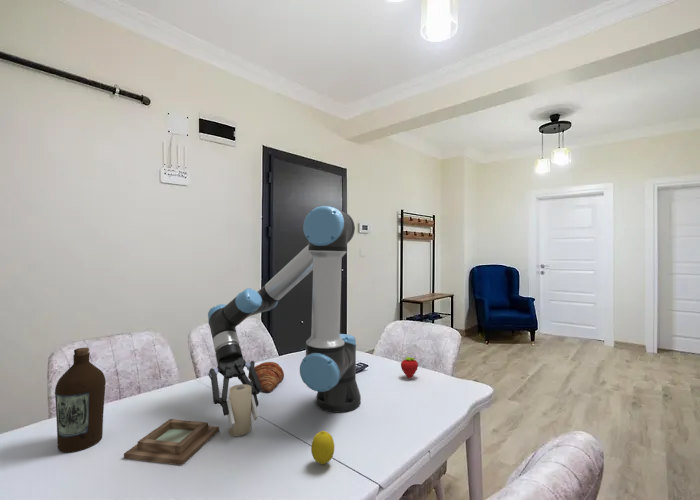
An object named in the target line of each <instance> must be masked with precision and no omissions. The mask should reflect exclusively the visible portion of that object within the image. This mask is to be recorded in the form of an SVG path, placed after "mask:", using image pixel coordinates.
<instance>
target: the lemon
mask: <svg viewBox="0 0 700 500" xmlns="http://www.w3.org/2000/svg"><path fill="white" fill-rule="evenodd" d="M310 449H311V455H312V458H313V460H315V462H316V463H318V464H320V465H326V464H327V463H329V462H330V461H331V460H332V459H333V457H334V453H335V442H334V438H333V436H332V435H331V433H329V432H327V431H325V430H321V431H318V432H317V433H316V434H314V437H313V439H312V440H311V448H310Z"/></svg>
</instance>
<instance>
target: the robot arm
mask: <svg viewBox="0 0 700 500" xmlns="http://www.w3.org/2000/svg"><path fill="white" fill-rule="evenodd" d="M302 229H303V234H304V236H305V238H306V239H307V241H308V245H306V246H305V247H304V248H302V250H301V251H299V253H297V254H296V255H295V256H294V257H293V258H292V259H291V260H290V261H289V262H288V263H287V264H286V265H285V266H283V268H281V270H279V271H278V272H277V273H276V274H275V275H274V276H273V277H272V278H271V279H270V280H269V281H267V282H266V283H265V285H264V286H262V287H261V288H259V290H258V291H256V290H255V289H252V288H245V289H244V290H242V291H241V292H239V293H238V294H237V295H236V296H235V297H234V298H233V299H232V300H231V301H229V302H228V303H227V304H224V303H223V304H217V305H216V306H213V307H211V308H210V309H209V310H208V312H207V319H208V321H207V323H208V326H209V330H210V333H211V338H212V343H213V348H214V352H215V358H216V363H217V367H215V368H210V369H209V371H208V373H207V374H208V378H209V379H210V382H211V391H212V400H213V404H214V405H219V406H221V408H222V413H223V414H222V415H223V416H227V420H228V426H230V428H232V427H233V426H234V424H235V421H234V416H233V412H232V407H231V402H230V400H229V399H228V394H229V383H230V379H232V378H237V379H238V380H239V381H240V382H241V384H247V385H250V386H251V417H252V419H253V422H256V421H257V420H258V419H259V417H260V416H259V411H258V407H259V406H260V405H259V403H260V402H259V399H258V395H259V394H260V392H262V391H261V389H262V388H261V385H260V382H259V379H258V376H257V373H256V371H255V368H254V367H255V366H256V365H255V363H256V362H255V361H254V360H251V361H246V360H245V359H244V355H243V353H242V349H241V345H240V341H239V337H238V333H237V329H236V328H237V326H239V325H240V324H241V323H243V322H244V321H245V320H246V319H248V318H249V317H252V316H255V315H258V314H261V313H265V312H269V311H272V309H274V308H275V307H277V305H278V303H279V301H280V300H281V299H282V298H283V297H284V296H286V294H288V293H289V292H290V291H291V290H292V289H294V287H295V286H296V285H298V284H299V283H300V282H301V281H302V280H303V279H304V278H306V277H307V276H308V275H309V274H310V273H311V272H312V293H311V294H312V295H311V297H312V299H311V330H310V331H311V335H310V336H309V338H308V339H307V340H306V342H305V356H304V358H302V360H301V362H300V364H299V375H300V378H301V380H302V382H303V383H304V384H305V385H306V387H308V388H309V389H311V390H312V391H315V392H316V395H315V404H316V406H317V407H318V408H319V409H320V410H323V411H326V412H331V413H346V412H350V411H353V410H355V409H358V407H360V405H361V402H362V398H361V392H360V390H359V386H358V383H357V378H356V377H357V375H356V371H357V369H356V368H357V367H356V364H357V361H356V359H357V355H356V353H357V343H356V340H357V339H356V337H355V336H354V335H352V334H347V333H346V334H345V333H341V302H342V301H341V299H342V296H341V295H342V265H343V264H342V260H343V259H342V258H343V257H344V256H345V255H346V254H347V251H348V243H350V241H351V240H352V239H353V237H354V236H355V229H356V227H355V222H354V219H353V217H351V215H350V214H349V213H347V212H346V211H343V210H340V209H337V208H336V207H334V206H329V205H322V206H317V207H315V208H313V209H312V210H310V212H308V214H306V217H305V218H304V221H303V227H302ZM245 368H246V370H247V371H248V374H250V377H251V380H252V382H251V380H250V379H249V378H248V376H247V375H246V372H245V370H244V369H245ZM218 373H219V374H221V375H222V376H223V381H222V390H221V391H222V392H221V396H220V388H219V381H218ZM227 399H228V400H227Z"/></svg>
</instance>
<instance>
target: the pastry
mask: <svg viewBox="0 0 700 500" xmlns="http://www.w3.org/2000/svg"><path fill="white" fill-rule="evenodd" d="M254 368H255V371H256V373H257V376H258V379H259V382H260V385H261V388H262V389H261V391H260V392H264V393H271V392H273V391H274V390H275V389H276V388H277V387H278V385H279V384H281V383H282V382H283V380H284V379H285V378H284V377H285V373H284V370H283V368H282V367H281V365H279V363H277V362H274V361H266V362H261V363H260V364H256V365H255V366H254ZM247 377H248V379H249V381H250V382H251V383H252V380H251V377H250V374H249V373H248V376H247Z"/></svg>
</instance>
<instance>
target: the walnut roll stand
mask: <svg viewBox="0 0 700 500" xmlns="http://www.w3.org/2000/svg"><path fill="white" fill-rule="evenodd" d="M219 431H220V426H215V425H209V422H208V421H198V420H197V421H196V420H186V419H185V420H184V419H176V418H175V419H174V418H170V419H168V420H166V421H165V422H164V423H162V424H161V425H159V426H158V427H156V428H155V429H154V430H152V431H150V432H149V433H148V434H146V435H145V436H144V437H142V438H140V439H139V440H138V441H137V442H136V444H135V445H134V446H133V447H131V448H129V449H128V450H127V451H126V452H124V453H123V459H125V460H133V461H134V460H136V461H141V462H142V461H144V462H152V463H161V464H171V465H176V466H177V465H178V466H183V465H185V464H186V462H188V461H189V460H190V459H191V458H192V457H193V456H194V455H195V454H196V453H197V452H199V450H200V449H202V447H204V445H206V444H207V443H208V441H210V440H211V439H212V438H213V437H214V436H215V435H216V434H217V433H218V432H219Z"/></svg>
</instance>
